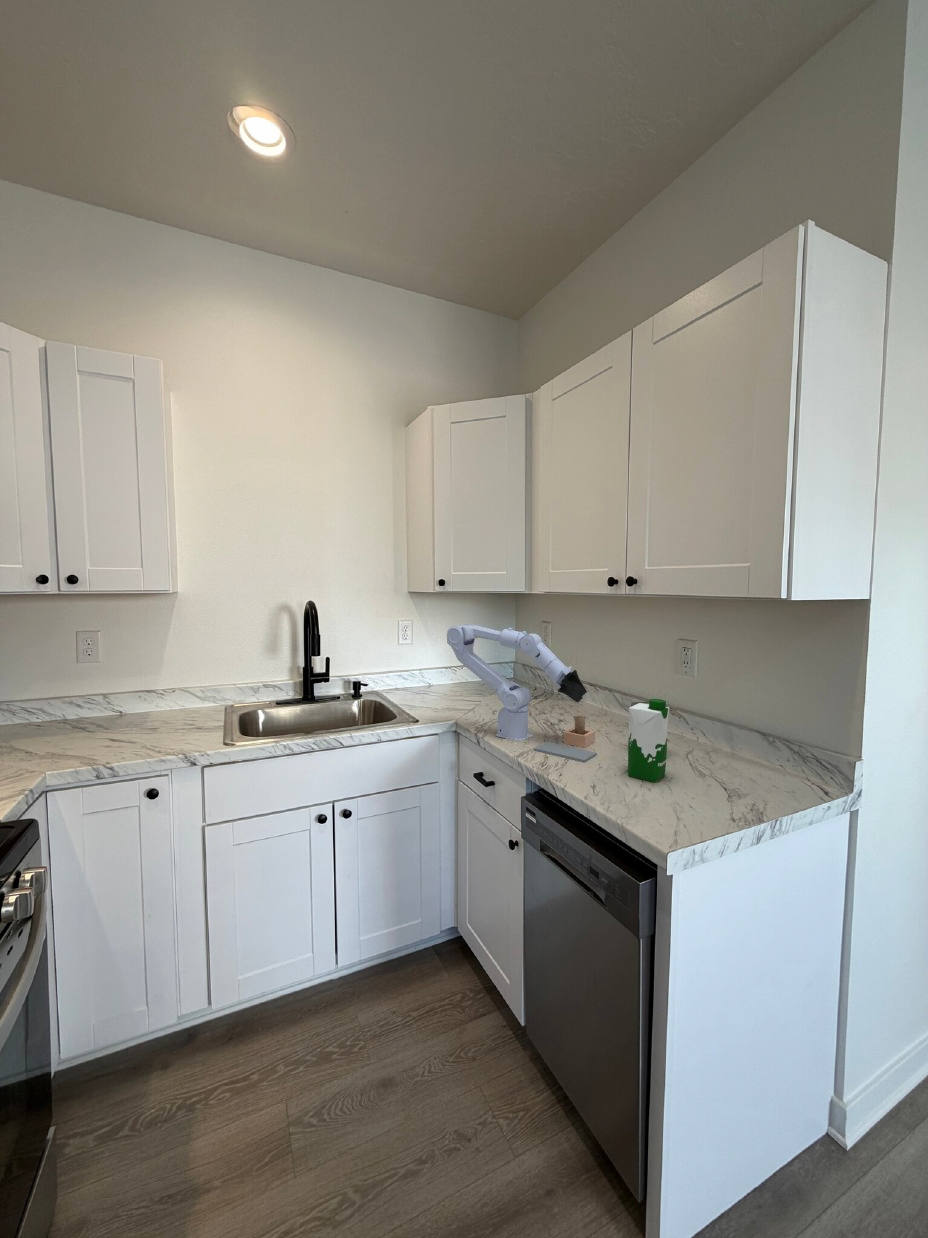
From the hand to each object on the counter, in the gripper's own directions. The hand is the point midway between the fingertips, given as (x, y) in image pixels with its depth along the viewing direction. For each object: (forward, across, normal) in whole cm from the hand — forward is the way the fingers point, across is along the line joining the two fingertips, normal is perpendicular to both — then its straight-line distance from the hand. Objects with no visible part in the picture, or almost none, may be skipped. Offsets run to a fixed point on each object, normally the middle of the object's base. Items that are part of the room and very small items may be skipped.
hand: (582, 697), depth 154 cm
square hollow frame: (+9, +10, +8) cm, 16 cm away
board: (+9, +1, +15) cm, 18 cm away
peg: (+9, +10, +8) cm, 15 cm away
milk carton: (+26, -12, +6) cm, 30 cm away
